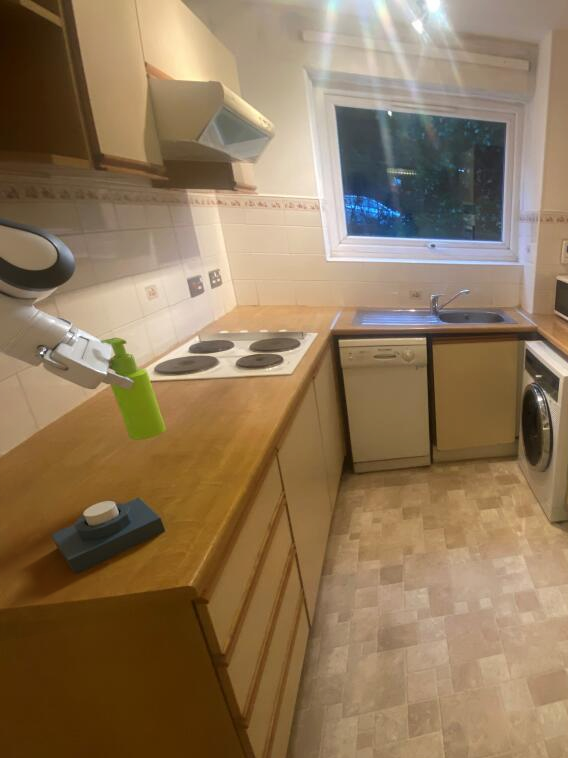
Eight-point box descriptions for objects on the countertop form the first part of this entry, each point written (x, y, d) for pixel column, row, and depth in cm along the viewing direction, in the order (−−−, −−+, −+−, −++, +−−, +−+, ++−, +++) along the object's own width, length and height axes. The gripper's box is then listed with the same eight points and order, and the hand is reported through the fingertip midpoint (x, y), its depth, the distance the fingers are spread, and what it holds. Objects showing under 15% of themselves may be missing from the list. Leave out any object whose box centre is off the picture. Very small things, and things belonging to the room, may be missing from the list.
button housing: (75, 574, 68) (63, 550, 66) (57, 548, 73) (45, 524, 71) (165, 531, 77) (156, 508, 75) (144, 510, 82) (135, 488, 80)
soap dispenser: (154, 423, 94) (123, 334, 87) (172, 430, 91) (141, 337, 84) (121, 435, 89) (86, 341, 82) (139, 442, 86) (104, 345, 79)
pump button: (92, 529, 71) (87, 519, 70) (84, 520, 73) (79, 510, 72) (122, 516, 74) (118, 506, 73) (114, 507, 76) (110, 497, 75)
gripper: (46, 340, 69) (143, 382, 79) (63, 315, 84) (143, 353, 93) (17, 372, 68) (119, 411, 78) (40, 341, 83) (123, 377, 93)
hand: (132, 379), depth 86 cm, fingers closed on soap dispenser, 6 cm apart
